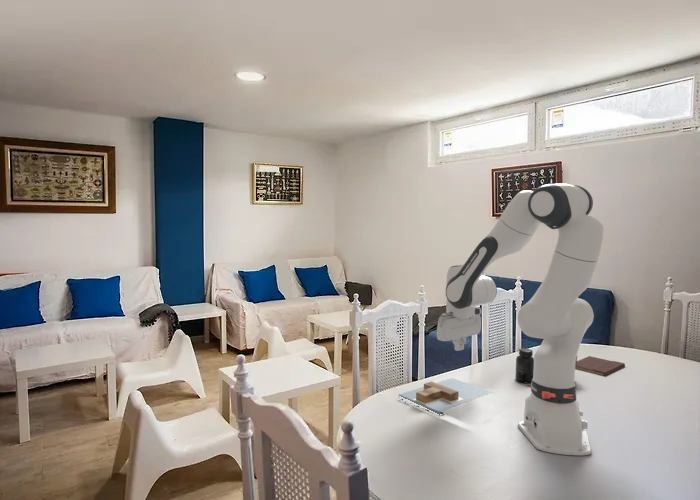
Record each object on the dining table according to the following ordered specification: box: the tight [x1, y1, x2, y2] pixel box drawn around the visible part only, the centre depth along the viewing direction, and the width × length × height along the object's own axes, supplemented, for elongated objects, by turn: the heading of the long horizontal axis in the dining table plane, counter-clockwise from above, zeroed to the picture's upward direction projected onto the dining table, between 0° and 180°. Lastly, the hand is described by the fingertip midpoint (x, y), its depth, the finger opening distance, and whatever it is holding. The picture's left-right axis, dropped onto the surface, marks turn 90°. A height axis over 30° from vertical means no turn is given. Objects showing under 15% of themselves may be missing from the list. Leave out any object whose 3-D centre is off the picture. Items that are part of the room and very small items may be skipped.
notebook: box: [575, 355, 626, 377], centre depth 197 cm, size 15×20×2 cm
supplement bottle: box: [515, 347, 534, 384], centre depth 179 cm, size 7×7×12 cm
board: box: [398, 377, 493, 415], centre depth 161 cm, size 28×18×2 cm, turn 128°
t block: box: [416, 381, 459, 403], centre depth 157 cm, size 12×12×2 cm
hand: (459, 350), depth 163 cm, fingers closed
